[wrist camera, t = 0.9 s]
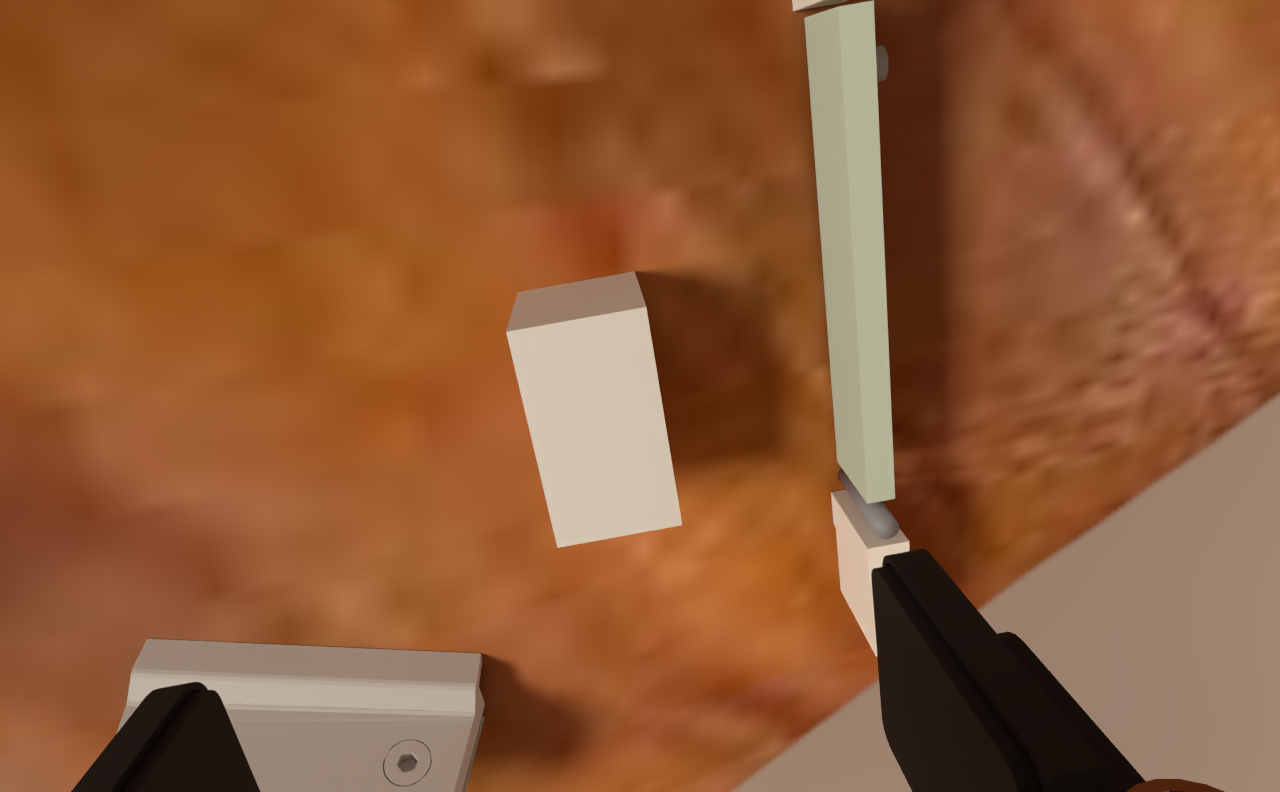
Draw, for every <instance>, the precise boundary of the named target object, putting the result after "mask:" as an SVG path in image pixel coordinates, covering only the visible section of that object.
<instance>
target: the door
mask: <svg viewBox="0 0 1280 792" xmlns="http://www.w3.org/2000/svg"><path fill="white" fill-rule="evenodd" d="M804 19H805V32H806V46H807V59H808V73H809V86H810V100H811V113H812V127H813V140H814V154H815V167H816V181H817V194H818V208H819V221H820V235H821V248H822V262H823V275H824V289H825V302H826V316H827V329H828V343H829V356H830V370H831V383H832V397H833V410H834V424H835V437H836V451H837V462H838V463H839V465H840V466H841V469H840V471H839V473H838V478H839V480H840V482H841V483H842V484H843V486H844V487H845V489H846V490H847V492H848V493H849V495H850V496H851V498H852V499H853V500H854V502H855V503H856V505H857V506H858V508H859V509H860V511H861V512H862V514H863V515H864V517H865V518H866V519H867V521H868V522H869V524H870V525H871V527H872V528H873V530H874V531H875V533H876V534H877V536H878V537H880V538H882V539H890V538H892V537H894V536H895V535H896V534H897V533H898V531H899V524H898V522H897V521H896V519H895V518H894V517H893V515H892V514H891V513H890V511H889V510H888V509H887V507H886V506H885V505H884V503H883V502H882V501H886V500H891V499H895V482H894V459H893V436H892V413H891V389H890V366H889V343H888V320H887V297H886V274H885V250H884V227H883V204H882V181H881V158H880V135H879V111H878V88H877V82H880V81H884V80H885V79H886V77H887V74H888V66H889V63H888V55H887V51H886V48H885V47H884V46H883V45H879V46H876V42H875V19H874V0H873V1H867V2H861V3H856V4H850V5H844V6H839V7H835V8H832V9H829V10H826V11H823V12H820V13H817V14H814V15H811V16H808V17H805V18H804Z"/></svg>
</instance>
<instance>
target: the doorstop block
mask: <svg viewBox="0 0 1280 792" xmlns="http://www.w3.org/2000/svg"><path fill="white" fill-rule="evenodd" d="M506 333H507V337H508V342H509V346H510V350H511V354H512V358H513V363H514V367H515V371H516V375H517V379H518V384H519V388H520V392H521V396H522V400H523V405H524V409H525V413H526V417H527V422H528V426H529V430H530V434H531V438H532V443H533V447H534V451H535V455H536V459H537V464H538V468H539V472H540V476H541V480H542V485H543V489H544V493H545V497H546V501H547V506H548V510H549V514H550V518H551V523H552V527H553V531H554V535H555V539H556V544H557V548H559V547H564V546H570V545H575V544H581V543H586V542H592V541H597V540H603V539H608V538H614V537H619V536H625V535H630V534H636V533H641V532H647V531H652V530H658V529H663V528H669V527H674V526H679V525H682V521H681V515H680V509H679V503H678V497H677V490H676V484H675V478H674V472H673V466H672V460H671V454H670V448H669V442H668V436H667V430H666V424H665V417H664V411H663V405H662V399H661V393H660V387H659V381H658V375H657V369H656V363H655V357H654V350H653V344H652V338H651V332H650V326H649V320H648V314H647V308H646V304H645V301H644V298H643V295H642V292H641V289H640V286H639V283H638V280H637V277H636V274H635V271H634V272H629V273H623V274H617V275H612V276H606V277H601V278H595V279H589V280H584V281H578V282H573V283H567V284H561V285H556V286H550V287H545V288H539V289H533V290H528V291H522V292H518V294H517V297H516V301H515V304H514V307H513V311H512V314H511V317H510V321H509V324H508V328H507V331H506Z"/></svg>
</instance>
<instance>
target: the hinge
mask: <svg viewBox="0 0 1280 792" xmlns="http://www.w3.org/2000/svg"><path fill="white" fill-rule="evenodd" d="M481 667H482V656H481V653H459V652H436V651H414V650H391V649H369V648H346V647H324V646H301V645H279V644H256V643H234V642H211V641H189V640H167V639H147V641H146V643H145V645H144V647H143V649H142V651H141V653H140V654H139V656H138V658H137V660H136V662H135V664H134V666H133V669H132V672H131V677H130V684H129V692H128V699H127V704H126V707H125V710H124V713H123V716H122V719H121V722H120V725H119V728H118V731H119V730H120V729H121V728H122V726H123V725H124V724H125V723H126V721H127V720H128V719H129V717H130V716H131V715H132V714H133V712H134V711H135V710H136V709H137V707H138V706H139V705H140V703H141V702H142V701H143V700H144V698H145V697H146V696H147V695H148V694H149V693H150V692H151V691H153V690H155V689H158V688H164V687H169V686H175V685H180V684H186V683H191V682H200V683H202V684H203V685H205V686H206V687H207V689H208V690H215V691H216V692H217V693H218V694H219V696H220V697H221V699H222V702H223V704H224V707H225V709H226V711H227V714H228V716H229V718H230V721H231V723H232V726H233V728H234V730H235V733H236V735H237V737H238V740H239V742H240V745H241V747H242V749H243V752H244V754H245V756H246V759H247V761H248V763H249V766H250V768H251V771H252V773H253V775H254V778H255V780H256V782H257V785H258V787H259V790H260V792H465V791H466V787H467V783H468V779H469V775H470V772H471V768H472V764H473V760H474V756H475V753H476V749H477V745H478V741H479V737H480V733H481V730H482V726H483V722H484V718H485V717H482V714H483V710H484V706H485V703H484V700H483V697H482V694H481V691H480V688H479V682H480V674H481ZM118 731H117V733H118Z"/></svg>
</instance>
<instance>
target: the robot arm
mask: <svg viewBox="0 0 1280 792" xmlns="http://www.w3.org/2000/svg"><path fill="white" fill-rule="evenodd" d="M871 579H872V592H873V605H874V618H875V631H876V644H877V657H878V670H879V683H880V696H881V709H882V720H883V726H884V730H885V734H886V737H887V740H888V743H889V745H890V748H891V750H892V752H893V754H894V756H895V758H896V760H897V762H898V764H899V765H900V767H901V769H902V772H903V774H904V775H905V778H906V780H907V781H908V784H909V785H910V788H911V789H912V792H1224V791H1221V790H1219V789H1216V788H1213V787H1211V786H1209V785H1206V784H1201V783H1196V782H1191V781H1186V780H1182V779H1155V780H1151V781H1147V782H1146V781H1145V780H1144V779H1143V778H1142V777H1141V776H1140V774H1139V773H1138V772H1137V771H1136V770H1135V769H1134V768H1133V766H1132V765H1131V764H1130V763H1129V762H1128V761H1127V759H1125V757H1124V756H1123V755H1122V754H1121V753H1120V752H1119V751H1118V749H1117V748H1116V747H1115V746H1114V745H1113V743H1111V741H1110V740H1109V739H1108V738H1107V737H1106V736H1105V735H1104V733H1103V732H1102V731H1101V730H1100V729H1099V727H1098V726H1097V725H1096V724H1095V723H1094V722H1093V721H1092V719H1091V718H1090V717H1089V716H1088V715H1087V714H1086V713H1085V711H1084V710H1083V709H1082V708H1081V707H1080V706H1079V705H1078V703H1077V702H1076V701H1075V700H1074V699H1073V698H1072V697H1071V695H1070V694H1069V693H1068V692H1067V691H1066V690H1065V689H1064V687H1063V686H1062V685H1061V684H1060V683H1059V682H1058V681H1057V679H1056V678H1055V677H1054V676H1053V675H1052V674H1051V672H1050V671H1049V670H1048V669H1047V668H1046V667H1045V666H1044V664H1043V663H1042V662H1041V661H1040V660H1039V659H1038V658H1037V657H1036V655H1035V654H1034V653H1033V652H1032V651H1031V650H1030V648H1029V647H1028V646H1027V645H1026V644H1025V643H1024V642H1023V641H1022V640H1021V639H1020V638H1019V637H1018V636H1017V635H1016V634H1013V633H1010V632H1005V633H999V634H996V632H995V631H994V630H993V629H992V627H991V626H990V625H989V624H988V623H987V621H986V620H985V619H984V618H983V617H982V615H981V614H980V613H979V612H978V611H977V609H976V608H975V607H974V606H973V605H972V603H971V602H970V601H969V600H968V599H967V597H966V596H965V595H964V594H963V593H962V591H961V590H960V589H959V588H958V587H957V585H956V584H955V583H954V582H953V581H952V579H951V578H950V577H949V576H948V575H947V573H946V572H945V571H944V570H943V569H942V567H941V566H940V565H939V564H938V563H937V561H936V560H935V559H934V558H933V557H932V555H931V554H930V553H929V552H928V551H927V550H926V549H919V550H913V551H908V552H903V553H897V554H892V555H886V556H885V557H884V558H883V562H882V567H879V568H873V570H872V573H871ZM71 792H260V790H259V787H258V785H257V782H256V780H255V778H254V775H253V773H252V771H251V768H250V766H249V763H248V761H247V759H246V756H245V754H244V752H243V749H242V747H241V745H240V742H239V740H238V737H237V735H236V733H235V730H234V728H233V726H232V723H231V721H230V718H229V716H228V714H227V711H226V709H225V707H224V704H223V702H222V699H221V697H220V696H219V694H218V693H217V692H216V691H215V690H208V689H207V687H206V686H205V685H203V684H202V683H200V682H191V683H186V684H180V685H175V686H169V687H164V688H158V689H155V690H153V691H151V692H150V693H149V694H148V695H147V696H146V697H145V698H144V700H143V701H142V702H141V703H140V705H139V706H138V707H137V709H136V710H135V711H134V712H133V714H132V715H131V716H130V717H129V719H128V720H127V721H126V723H125V724H124V725H123V726H122V728H121V729H120V730H119V731H118V733H117V734H116V735H115V737H114V738H113V739H112V740H111V742H110V743H109V744H108V745H107V747H106V748H105V749H104V751H103V752H102V753H101V754H100V756H99V757H98V758H97V759H96V761H95V762H94V763H93V765H92V766H91V767H90V768H89V770H88V771H87V772H86V773H85V775H84V776H83V777H82V779H81V780H80V781H79V782H78V784H77V785H76V786H75V788H74V789H73V790H72V791H71Z"/></svg>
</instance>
